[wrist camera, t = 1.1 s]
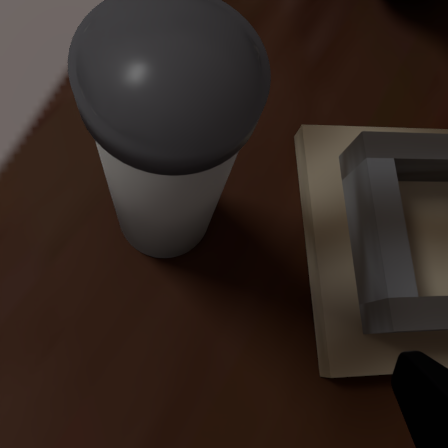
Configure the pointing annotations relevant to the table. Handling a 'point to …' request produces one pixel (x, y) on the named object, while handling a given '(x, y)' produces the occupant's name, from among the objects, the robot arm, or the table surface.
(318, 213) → the collar
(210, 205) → the tube
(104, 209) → the table surface
